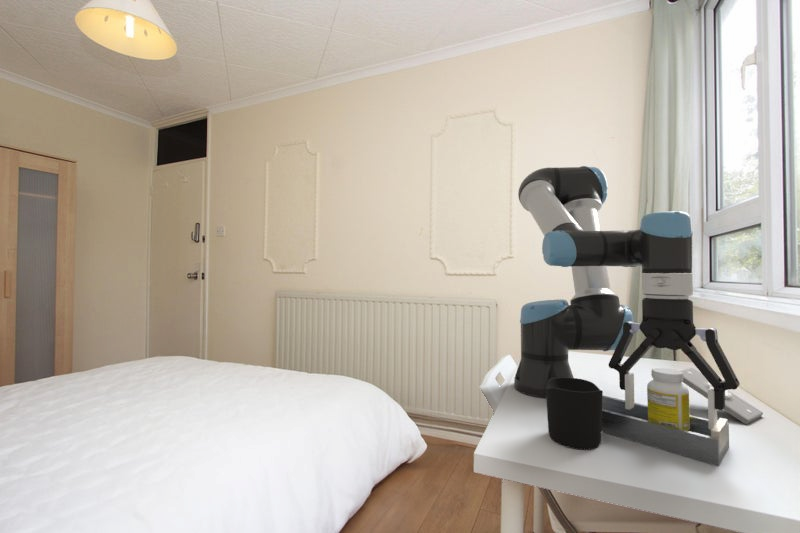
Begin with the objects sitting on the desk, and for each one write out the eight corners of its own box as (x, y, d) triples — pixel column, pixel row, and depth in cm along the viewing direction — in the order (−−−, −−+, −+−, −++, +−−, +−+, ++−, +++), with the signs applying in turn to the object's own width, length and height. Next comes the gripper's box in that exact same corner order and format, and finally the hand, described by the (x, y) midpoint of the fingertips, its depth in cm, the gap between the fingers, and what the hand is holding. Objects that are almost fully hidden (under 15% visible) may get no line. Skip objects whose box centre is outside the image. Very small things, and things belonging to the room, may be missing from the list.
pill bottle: (674, 425, 70) (672, 366, 70) (699, 440, 64) (697, 375, 64) (640, 425, 70) (639, 366, 71) (662, 439, 64) (661, 374, 64)
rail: (581, 425, 74) (580, 400, 74) (600, 413, 80) (600, 390, 81) (718, 466, 58) (717, 433, 58) (729, 446, 65) (728, 417, 65)
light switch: (751, 417, 74) (677, 368, 85) (734, 438, 76) (663, 388, 87) (766, 409, 78) (694, 364, 89) (749, 429, 80) (680, 383, 92)
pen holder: (612, 441, 67) (611, 385, 67) (588, 457, 61) (587, 395, 61) (562, 425, 74) (561, 374, 75) (536, 437, 68) (535, 383, 69)
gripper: (589, 295, 74) (590, 404, 74) (754, 301, 56) (758, 446, 56) (603, 294, 79) (605, 396, 79) (760, 299, 61) (763, 432, 61)
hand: (668, 417), depth 67 cm, fingers open, 12 cm apart
